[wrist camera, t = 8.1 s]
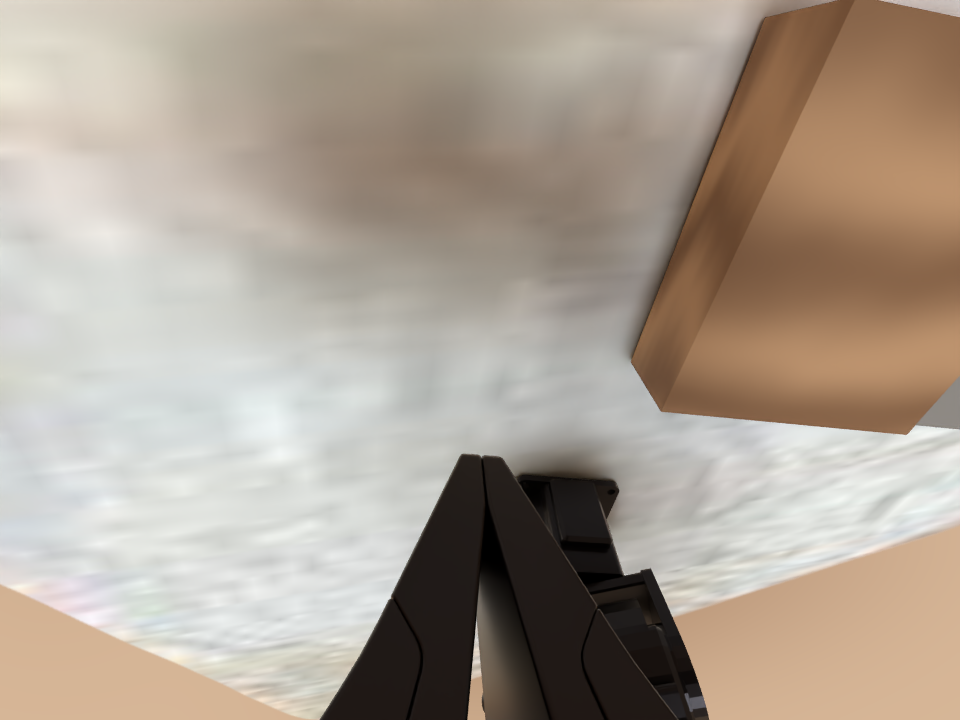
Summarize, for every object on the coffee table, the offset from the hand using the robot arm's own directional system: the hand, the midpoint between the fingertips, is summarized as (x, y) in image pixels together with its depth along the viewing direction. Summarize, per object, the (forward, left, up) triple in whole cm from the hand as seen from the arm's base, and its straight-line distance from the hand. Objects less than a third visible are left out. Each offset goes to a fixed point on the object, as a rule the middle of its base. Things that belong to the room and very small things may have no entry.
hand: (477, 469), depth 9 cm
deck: (+3, -15, -12) cm, 19 cm away
